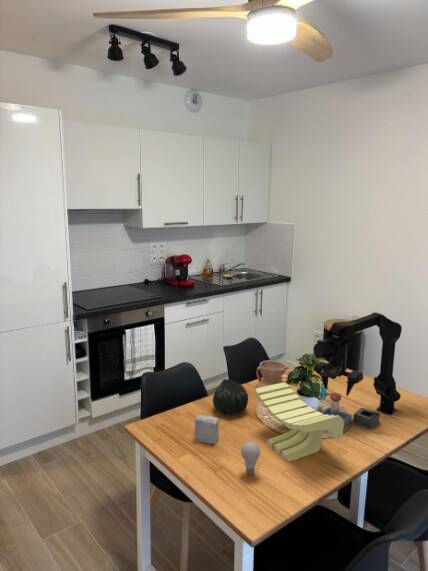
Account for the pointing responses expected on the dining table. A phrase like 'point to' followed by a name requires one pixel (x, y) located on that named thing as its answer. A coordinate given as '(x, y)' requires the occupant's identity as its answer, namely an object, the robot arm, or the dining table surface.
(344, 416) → the tray
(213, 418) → the medicine box
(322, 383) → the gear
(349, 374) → the robot arm
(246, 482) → the dining table surface
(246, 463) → the lightbulb
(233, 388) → the squash
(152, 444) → the dining table surface
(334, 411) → the pin
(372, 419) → the hitch block
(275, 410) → the slatted curved stool
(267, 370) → the ceramic jug
